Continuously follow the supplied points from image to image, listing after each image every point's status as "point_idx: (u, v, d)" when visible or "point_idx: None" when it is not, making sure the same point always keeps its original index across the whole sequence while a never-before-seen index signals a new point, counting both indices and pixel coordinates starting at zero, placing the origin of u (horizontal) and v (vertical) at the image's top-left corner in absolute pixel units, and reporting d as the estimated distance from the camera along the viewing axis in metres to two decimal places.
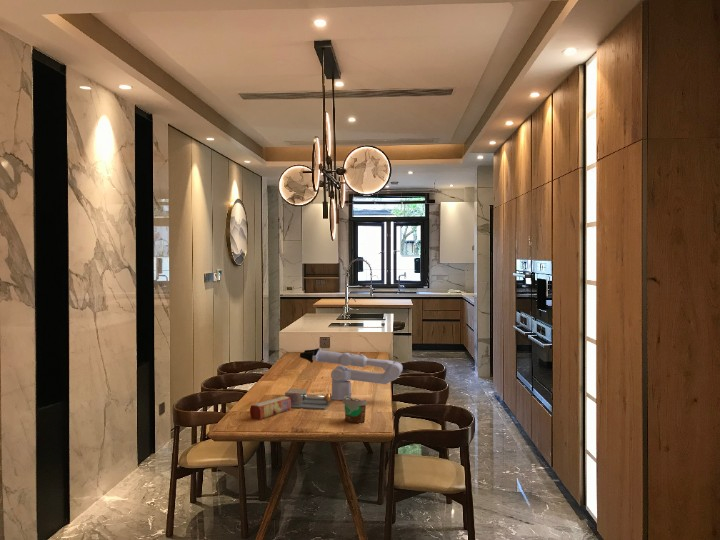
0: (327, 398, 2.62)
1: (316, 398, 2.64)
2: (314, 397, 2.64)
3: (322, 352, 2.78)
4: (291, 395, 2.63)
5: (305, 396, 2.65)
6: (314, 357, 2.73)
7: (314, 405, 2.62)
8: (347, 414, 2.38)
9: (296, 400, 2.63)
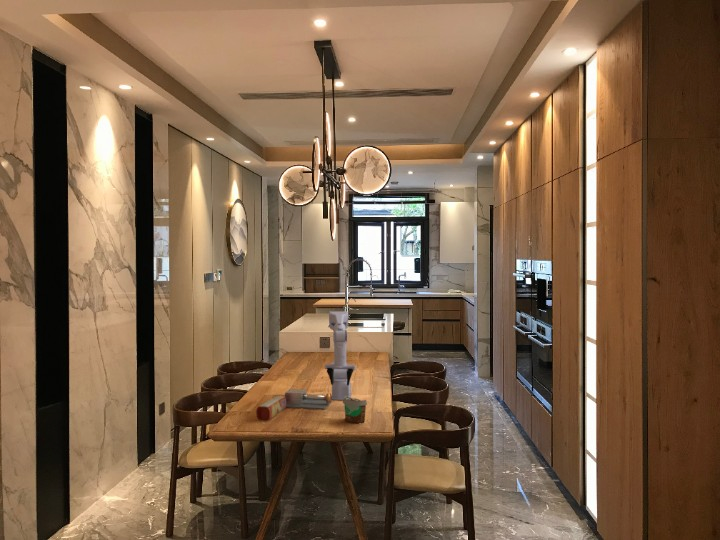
0: (327, 398, 2.62)
1: (316, 398, 2.64)
2: (314, 397, 2.64)
3: (342, 362, 2.60)
4: (291, 395, 2.63)
5: (305, 396, 2.65)
6: (355, 367, 2.61)
7: (314, 405, 2.62)
8: (347, 414, 2.38)
9: (296, 400, 2.63)
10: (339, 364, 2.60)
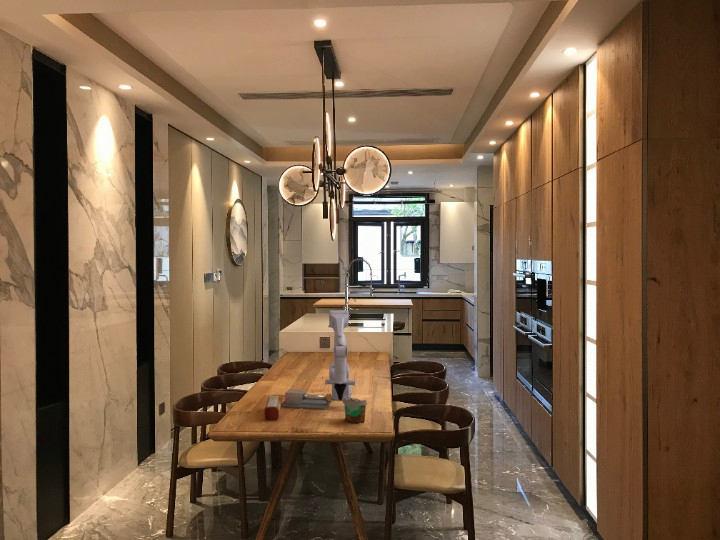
0: (327, 398, 2.62)
1: (316, 398, 2.64)
2: (314, 397, 2.64)
3: (343, 378, 2.60)
4: (291, 395, 2.63)
5: (305, 396, 2.65)
6: (355, 383, 2.61)
7: (314, 405, 2.62)
8: (347, 414, 2.38)
9: (296, 400, 2.63)
10: (339, 380, 2.60)
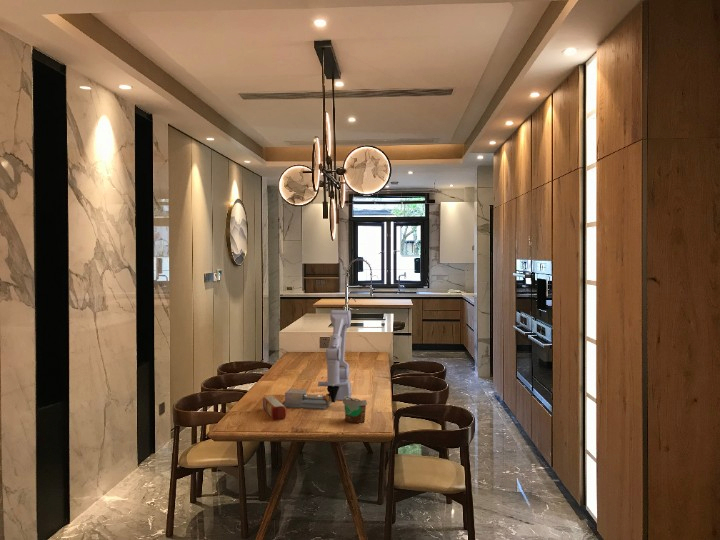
0: (326, 398, 2.62)
1: (315, 398, 2.64)
2: (313, 397, 2.64)
3: (335, 380, 2.61)
4: (291, 395, 2.63)
5: (304, 396, 2.65)
6: (348, 385, 2.62)
7: (314, 405, 2.62)
8: (347, 414, 2.38)
9: (296, 400, 2.63)
10: (332, 382, 2.61)
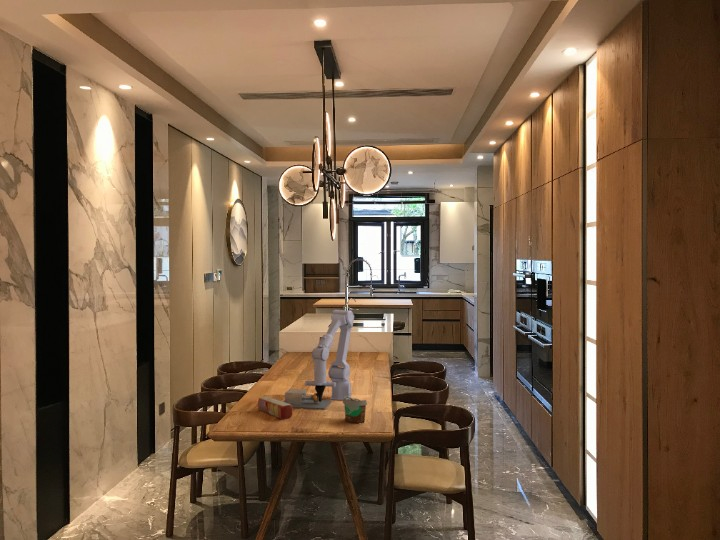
0: (314, 397, 2.63)
1: (304, 397, 2.65)
2: None
3: (322, 379, 2.62)
4: (291, 395, 2.63)
5: None
6: (335, 384, 2.63)
7: (314, 405, 2.62)
8: (347, 414, 2.38)
9: (296, 400, 2.63)
10: (319, 381, 2.62)
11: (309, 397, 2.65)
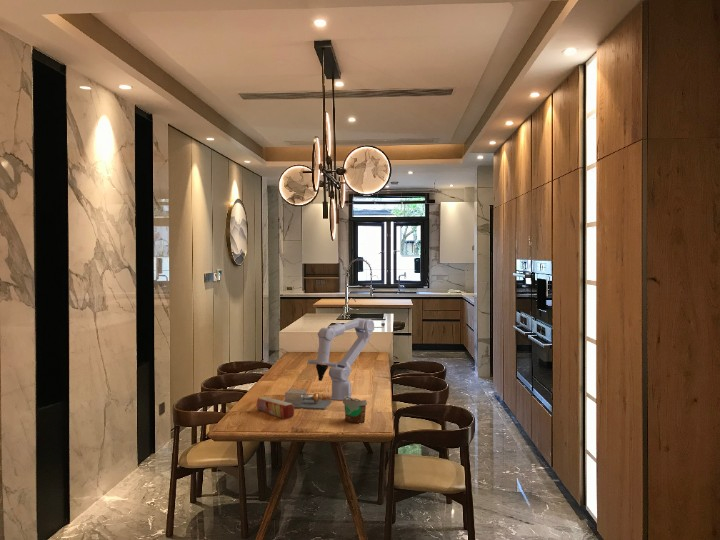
0: (315, 397, 2.63)
1: (304, 397, 2.65)
2: None
3: (325, 359, 2.69)
4: (291, 395, 2.63)
5: None
6: (336, 365, 2.70)
7: (314, 405, 2.62)
8: (347, 414, 2.38)
9: (296, 400, 2.63)
10: (322, 360, 2.68)
11: (309, 397, 2.65)
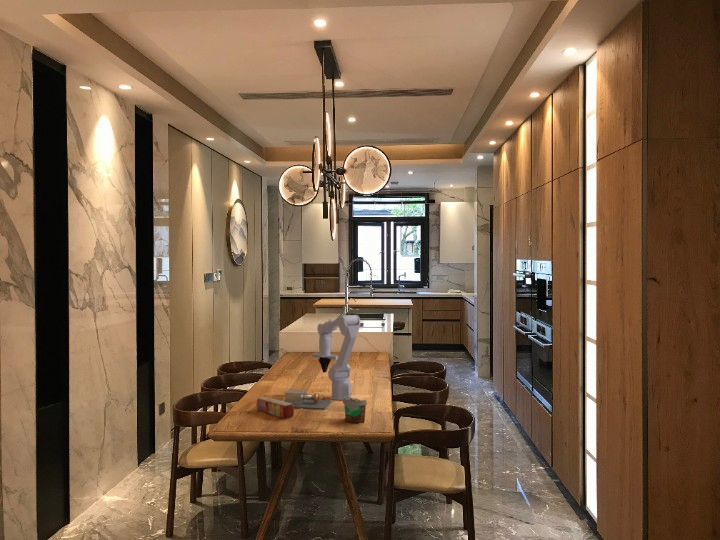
0: (315, 397, 2.63)
1: (304, 397, 2.65)
2: None
3: (325, 352, 2.88)
4: (291, 395, 2.63)
5: None
6: (336, 357, 2.87)
7: (314, 405, 2.62)
8: (347, 414, 2.38)
9: (296, 400, 2.63)
10: (322, 353, 2.88)
11: (309, 397, 2.65)
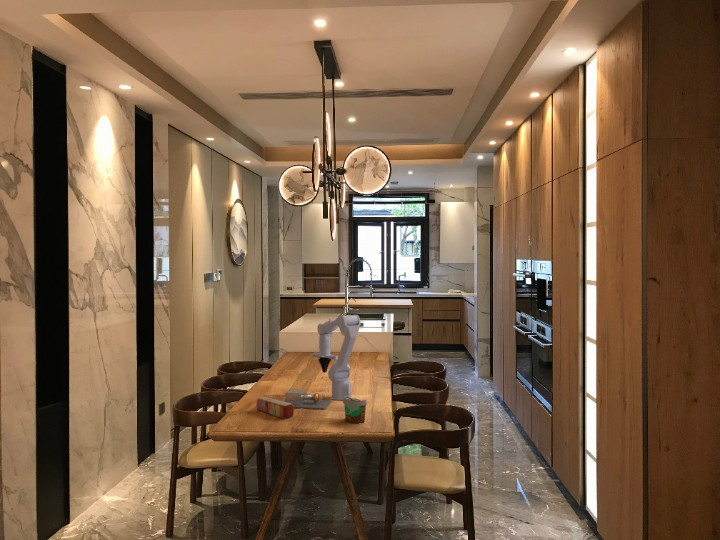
0: (315, 397, 2.63)
1: (304, 397, 2.65)
2: None
3: (325, 352, 2.88)
4: (291, 395, 2.63)
5: None
6: (336, 357, 2.87)
7: (314, 405, 2.62)
8: (347, 414, 2.38)
9: (296, 400, 2.63)
10: (322, 353, 2.88)
11: (309, 397, 2.65)
